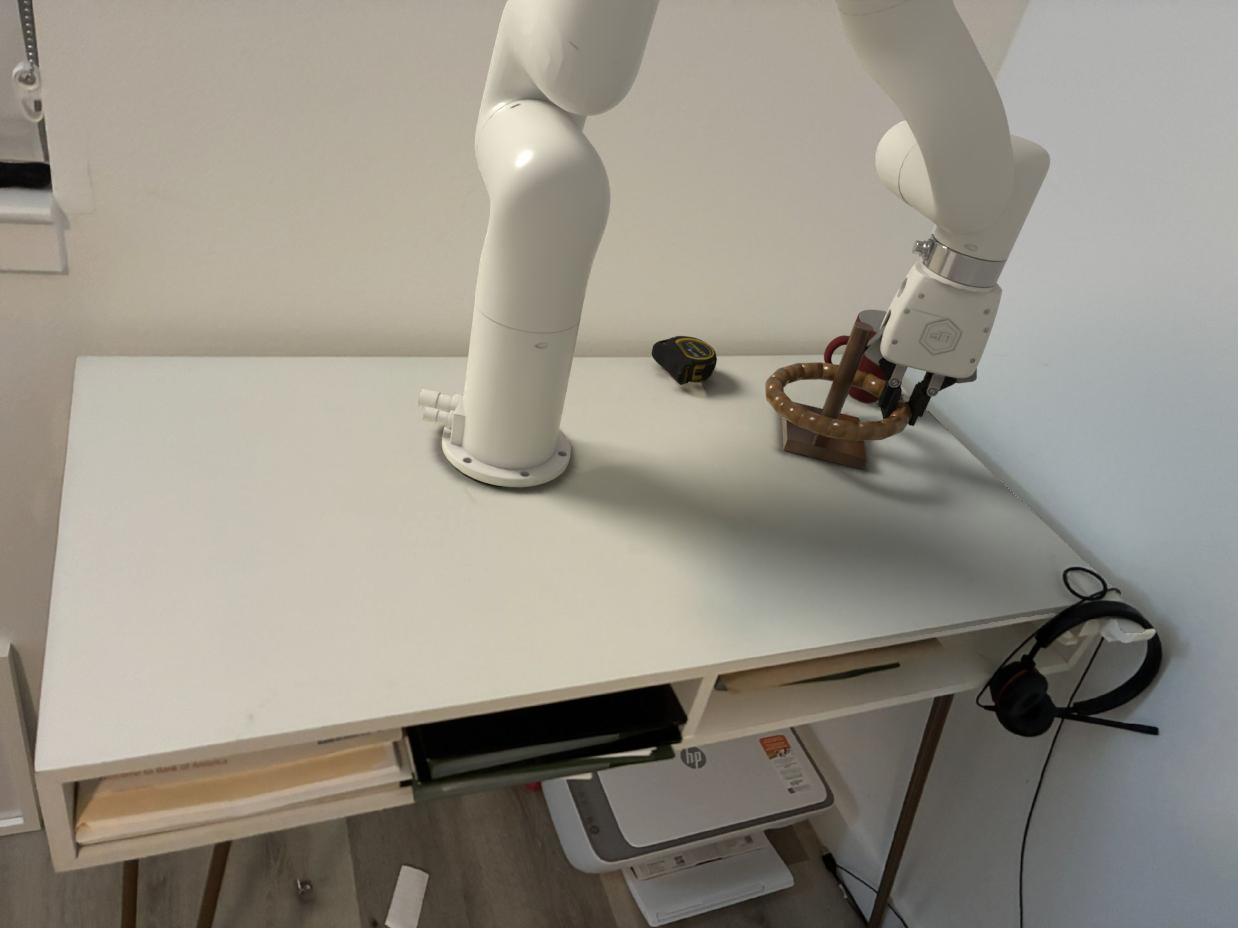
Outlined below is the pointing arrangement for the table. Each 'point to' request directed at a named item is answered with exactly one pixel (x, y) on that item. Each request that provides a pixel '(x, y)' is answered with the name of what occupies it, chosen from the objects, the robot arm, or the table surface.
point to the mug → (866, 364)
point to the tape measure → (685, 358)
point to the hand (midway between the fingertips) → (897, 415)
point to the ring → (826, 424)
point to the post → (834, 411)
